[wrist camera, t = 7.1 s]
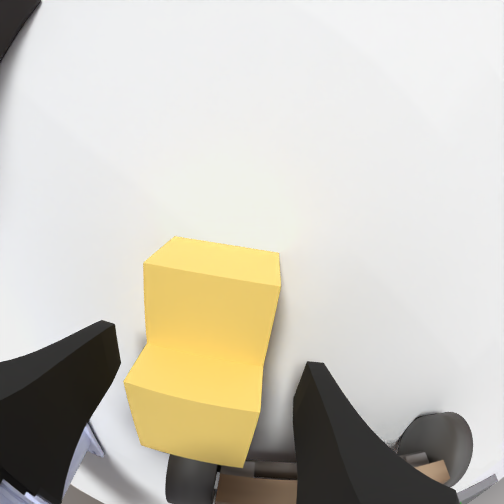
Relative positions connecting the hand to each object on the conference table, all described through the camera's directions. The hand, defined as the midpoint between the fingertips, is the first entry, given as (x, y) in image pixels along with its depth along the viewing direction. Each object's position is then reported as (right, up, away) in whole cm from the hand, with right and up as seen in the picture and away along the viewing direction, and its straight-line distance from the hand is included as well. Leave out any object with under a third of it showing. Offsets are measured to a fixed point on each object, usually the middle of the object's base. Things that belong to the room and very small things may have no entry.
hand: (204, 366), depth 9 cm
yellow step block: (0, +1, +2) cm, 3 cm away
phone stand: (-16, +20, -3) cm, 26 cm away
